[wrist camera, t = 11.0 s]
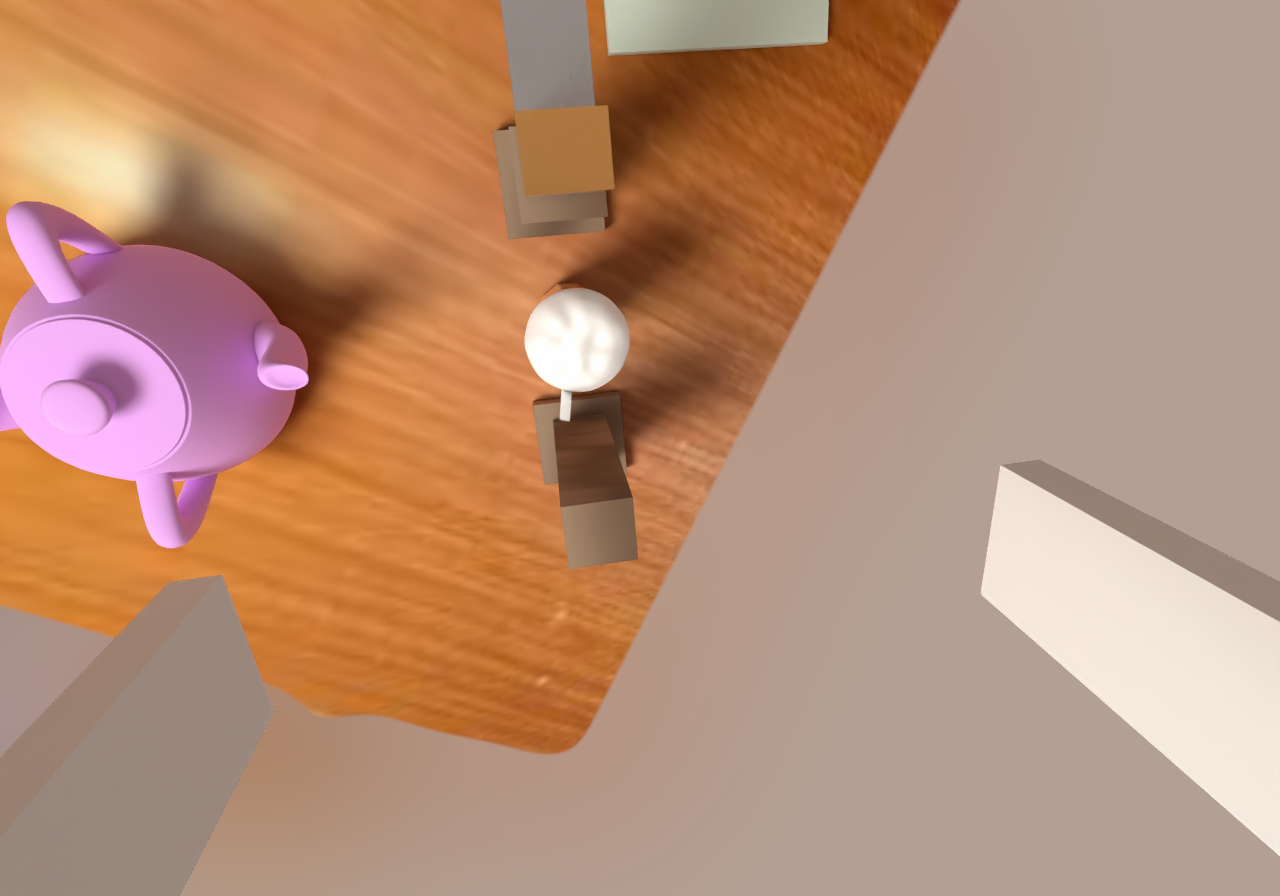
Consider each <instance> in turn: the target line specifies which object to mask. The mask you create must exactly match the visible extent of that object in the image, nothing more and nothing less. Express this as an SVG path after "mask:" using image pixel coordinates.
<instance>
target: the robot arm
mask: <svg viewBox="0 0 1280 896" xmlns="http://www.w3.org/2000/svg"><path fill="white" fill-rule="evenodd" d="M981 595H982V596H984V597H985V598H986V599H987V600H988V601H989V602H990V603H992V604H993V605H994V606H995V607H996V608H997V609H998V610H1000V611H1001V612H1002V613H1003V614H1004V615H1005V616H1006V617H1008V618H1009V619H1010V620H1011V621H1012V622H1013V623H1014V624H1016V625H1017V626H1018V627H1019V628H1020V629H1021V630H1022V631H1024V632H1025V633H1026V634H1027V635H1028V636H1030V638H1032V639H1033V640H1034V641H1035V642H1036V643H1037V644H1038V645H1040V646H1041V647H1042V648H1043V649H1044V650H1045V651H1046V652H1047V653H1049V654H1050V655H1051V656H1052V657H1053V658H1054V659H1055V660H1057V661H1058V662H1059V663H1060V664H1061V665H1062V666H1064V667H1065V668H1066V669H1067V670H1068V671H1069V672H1070V673H1071V674H1073V675H1074V676H1075V677H1076V678H1077V679H1078V680H1080V681H1081V682H1082V683H1083V684H1084V685H1085V686H1087V688H1089V689H1090V690H1091V691H1092V692H1093V693H1094V694H1095V695H1097V696H1098V697H1099V698H1100V699H1101V700H1102V701H1103V702H1105V703H1106V704H1107V705H1108V706H1109V707H1110V708H1111V709H1113V710H1114V711H1115V712H1116V713H1117V714H1118V715H1119V716H1121V717H1122V718H1123V719H1124V720H1125V721H1126V722H1127V723H1129V724H1130V725H1131V726H1132V727H1133V728H1134V729H1135V730H1137V731H1138V732H1139V733H1140V734H1141V735H1142V736H1143V737H1145V738H1146V739H1147V740H1148V741H1149V742H1150V743H1151V744H1152V745H1154V746H1155V747H1156V748H1157V749H1158V750H1159V751H1160V752H1162V753H1163V754H1164V755H1165V756H1166V757H1167V758H1169V759H1170V760H1171V761H1172V762H1173V763H1174V764H1175V765H1176V766H1178V767H1179V768H1180V769H1181V770H1182V771H1183V772H1184V773H1186V774H1187V775H1188V776H1189V777H1190V778H1191V779H1192V780H1194V781H1195V782H1196V783H1197V784H1198V785H1199V786H1201V787H1202V788H1203V789H1204V790H1205V791H1206V792H1207V793H1208V794H1210V795H1211V796H1212V797H1213V798H1214V799H1215V800H1216V801H1218V802H1219V803H1220V804H1221V805H1222V806H1223V807H1224V808H1226V809H1227V810H1228V811H1229V812H1230V813H1231V814H1232V815H1233V816H1235V817H1236V818H1237V819H1238V820H1239V821H1240V822H1242V823H1243V824H1244V825H1245V826H1246V827H1247V828H1248V829H1250V830H1251V831H1252V832H1253V833H1254V834H1255V835H1256V836H1257V837H1259V838H1260V839H1261V840H1262V841H1263V842H1264V843H1266V844H1267V845H1268V846H1269V847H1270V848H1271V849H1272V850H1273V851H1275V852H1276V853H1277V854H1278V855H1279V856H1280V582H1279V581H1277V580H1275V579H1274V578H1272V577H1270V576H1268V575H1266V574H1264V573H1262V572H1260V571H1258V570H1256V569H1254V568H1251V567H1250V566H1248V565H1246V564H1244V563H1242V562H1240V561H1238V560H1236V559H1234V558H1232V557H1230V556H1228V555H1226V554H1224V553H1222V552H1220V551H1218V550H1216V549H1214V548H1212V547H1210V546H1208V545H1207V544H1205V543H1203V542H1201V541H1199V540H1197V539H1195V538H1193V537H1191V536H1189V535H1187V534H1185V533H1183V532H1181V531H1179V530H1177V529H1175V528H1173V527H1171V526H1169V525H1167V524H1165V523H1163V522H1161V521H1159V520H1157V519H1155V518H1153V517H1151V516H1149V515H1148V514H1146V513H1143V512H1142V511H1139V510H1138V509H1136V508H1134V507H1132V506H1130V505H1128V504H1126V503H1124V502H1122V501H1120V500H1118V499H1116V498H1114V497H1112V496H1110V495H1108V494H1106V493H1104V492H1102V491H1100V490H1098V489H1096V488H1094V487H1092V486H1090V485H1088V484H1086V483H1085V482H1083V481H1080V480H1078V479H1076V478H1075V477H1073V476H1071V475H1069V474H1067V473H1065V472H1063V471H1061V470H1059V469H1057V468H1055V467H1053V466H1051V465H1049V464H1047V463H1045V462H1043V461H1041V460H1034V461H1028V462H1020V463H1013V464H1006V465H1001V466H1000V473H999V479H998V486H997V492H996V499H995V505H994V511H993V518H992V524H991V531H990V537H989V544H988V550H987V556H986V563H985V570H984V576H983V582H982V589H981ZM273 713H274V709H273V706H272V704H271V701H270V699H269V696H268V693H267V691H266V688H265V686H264V683H263V680H262V678H261V675H260V673H259V670H258V667H257V665H256V662H255V659H254V657H253V654H252V652H251V649H250V646H249V644H248V641H247V639H246V636H245V633H244V631H243V628H242V626H241V623H240V620H239V618H238V615H237V613H236V610H235V607H234V605H233V602H232V600H231V597H230V594H229V592H228V589H227V586H226V584H225V581H224V579H223V576H222V575H218V576H211V577H204V578H197V579H190V580H183V581H176V582H169V583H168V584H167V585H166V586H165V587H164V588H163V589H162V590H161V591H160V592H159V593H158V594H157V595H156V596H155V597H154V599H153V600H152V601H151V602H150V603H149V604H148V605H147V606H146V607H145V608H144V609H143V610H142V611H141V612H140V613H139V614H138V615H137V616H136V617H135V618H134V619H133V620H132V621H131V622H130V623H129V624H128V625H127V626H126V627H125V629H124V630H123V631H122V632H121V633H120V634H119V635H118V636H117V637H116V638H115V639H114V640H113V641H112V642H111V643H110V644H109V645H108V646H107V647H106V648H105V649H104V651H102V652H101V653H100V654H99V655H98V656H97V658H96V659H95V660H94V661H93V662H92V663H91V664H90V665H89V666H88V667H87V668H86V669H85V670H84V671H83V672H82V673H81V674H80V675H79V676H78V677H77V678H76V679H75V680H74V681H73V682H72V683H71V684H70V685H69V686H68V687H67V689H66V690H65V691H64V692H63V693H62V694H61V695H60V696H59V697H58V698H57V699H56V700H55V701H54V702H53V703H52V704H51V705H50V706H49V707H48V708H47V709H46V710H45V711H44V712H43V714H41V715H40V717H39V718H38V719H37V720H36V721H35V722H34V723H33V724H32V725H31V726H30V727H29V728H28V729H27V730H26V731H25V732H24V733H23V734H22V735H21V736H20V737H19V738H18V739H17V740H16V741H15V742H14V744H12V745H11V747H9V749H8V750H7V751H6V752H5V753H4V754H3V755H2V756H1V757H0V896H180V894H181V892H182V890H183V888H184V886H185V885H186V883H187V881H188V879H189V877H190V875H191V873H192V871H193V869H194V867H195V865H196V863H197V861H198V859H199V857H200V855H201V853H202V851H203V849H204V848H205V846H206V844H207V842H208V840H209V838H210V836H211V834H212V832H213V830H214V828H215V826H216V824H217V822H218V820H219V818H220V816H221V814H222V813H223V811H224V809H225V807H226V805H227V803H228V801H229V798H230V797H231V795H232V793H233V791H234V789H235V787H236V785H237V783H238V781H239V779H240V777H241V775H242V773H243V772H244V770H245V768H246V766H247V764H248V762H249V760H250V758H251V756H252V754H253V752H254V750H255V748H256V746H257V744H258V742H259V740H260V738H261V737H262V734H263V733H264V731H265V729H266V727H267V725H268V723H269V721H270V719H271V717H272V715H273Z"/></svg>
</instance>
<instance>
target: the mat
mask: <svg viewBox="0 0 1280 896" xmlns="http://www.w3.org/2000/svg"><path fill="white" fill-rule="evenodd" d="M828 8H829V0H604V9H605V21H606V34H607V46H608V56H613V55H632V54H651V53H669V52H688V51H707V50H726V49H744V48H763V47H782V46H800V45H819V44H824V43H826V42H827V38H828Z"/></svg>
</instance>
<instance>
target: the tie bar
mask: <svg viewBox="0 0 1280 896" xmlns="http://www.w3.org/2000/svg"><path fill="white" fill-rule="evenodd" d="M500 1H501V9H502V16H503V24H504V31H505V39H506V46H507V54H508V62H509V69H510V77H511V84H512V92H513V99H514V107H515V111H514V116H515V123H516V131H517V138H518V146H519V153H520V161H521V168H522V176H523V183H524V191H525V196H526V197H537V196H549V195H562V194H575V193H587V192H599V191H605V190H611V189H615V185H614V173H613V161H612V149H611V137H610V125H609V113H608V105H600V106H595V99H594V88H593V77H592V66H591V54H590V43H589V32H588V21H587V10H586V0H500Z"/></svg>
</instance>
